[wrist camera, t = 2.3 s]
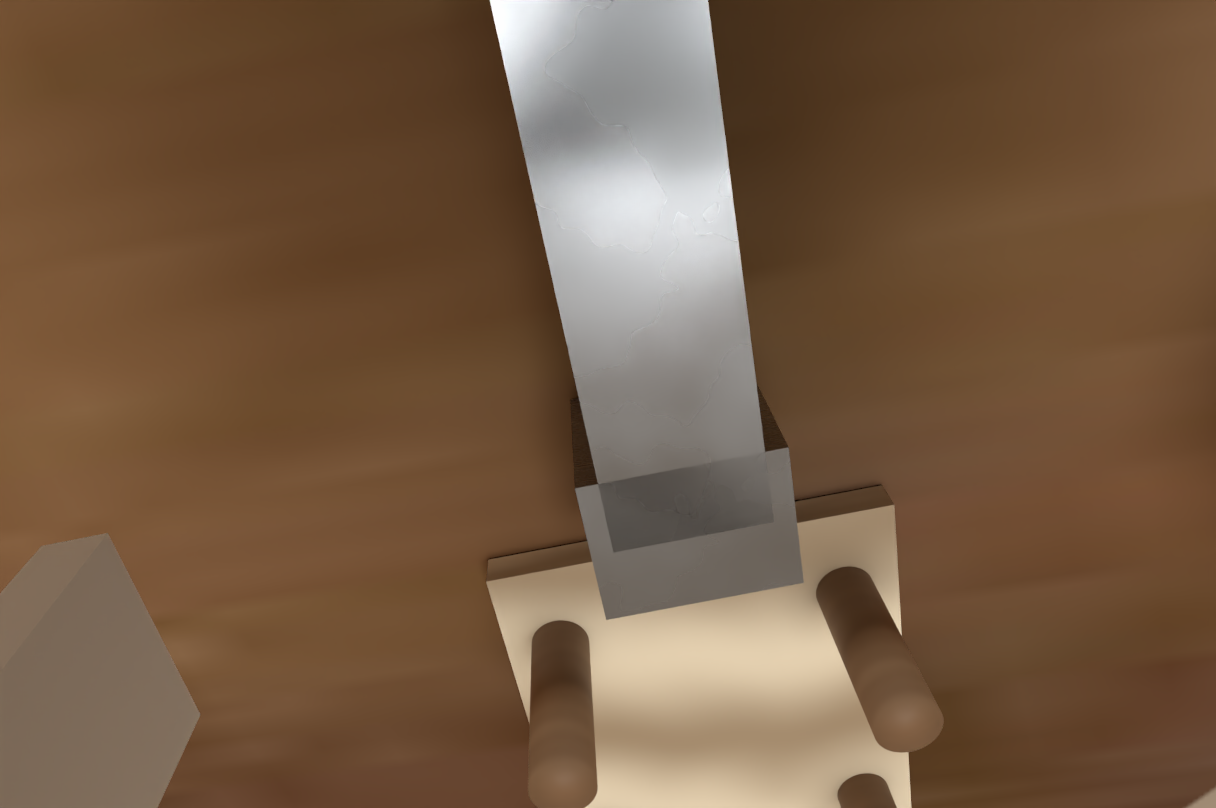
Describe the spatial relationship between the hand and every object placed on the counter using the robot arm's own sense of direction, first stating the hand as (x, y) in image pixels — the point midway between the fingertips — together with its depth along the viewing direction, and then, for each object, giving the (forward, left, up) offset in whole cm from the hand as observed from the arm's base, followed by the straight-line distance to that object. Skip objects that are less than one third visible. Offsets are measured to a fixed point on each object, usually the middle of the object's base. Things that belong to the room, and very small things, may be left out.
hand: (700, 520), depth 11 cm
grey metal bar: (0, 0, -12) cm, 12 cm away
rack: (+15, 0, -12) cm, 19 cm away
